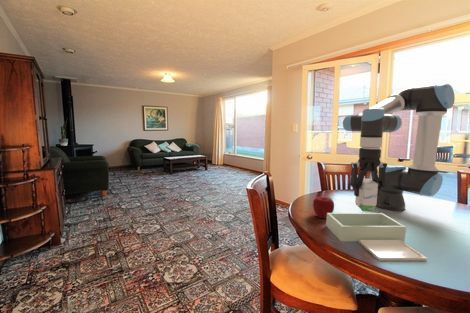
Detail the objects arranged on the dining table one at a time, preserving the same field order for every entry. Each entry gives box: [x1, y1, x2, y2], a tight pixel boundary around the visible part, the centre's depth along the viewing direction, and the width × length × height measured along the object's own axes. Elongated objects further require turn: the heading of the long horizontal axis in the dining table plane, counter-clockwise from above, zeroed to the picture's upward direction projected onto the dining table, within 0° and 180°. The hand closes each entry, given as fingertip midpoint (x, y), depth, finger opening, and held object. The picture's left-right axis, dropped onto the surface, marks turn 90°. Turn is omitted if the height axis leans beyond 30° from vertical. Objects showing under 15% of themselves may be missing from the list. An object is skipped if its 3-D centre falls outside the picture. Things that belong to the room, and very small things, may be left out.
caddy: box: [325, 212, 407, 242], centre depth 95 cm, size 25×14×6 cm, turn 91°
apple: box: [312, 196, 335, 219], centre depth 112 cm, size 10×10×10 cm
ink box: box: [355, 177, 378, 213], centre depth 93 cm, size 9×5×12 cm, turn 169°
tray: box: [358, 240, 428, 262], centre depth 82 cm, size 16×12×1 cm
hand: (365, 203), depth 94 cm, fingers closed on ink box, 6 cm apart
